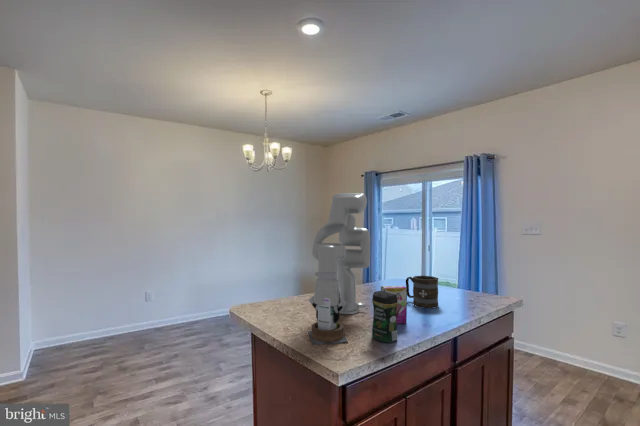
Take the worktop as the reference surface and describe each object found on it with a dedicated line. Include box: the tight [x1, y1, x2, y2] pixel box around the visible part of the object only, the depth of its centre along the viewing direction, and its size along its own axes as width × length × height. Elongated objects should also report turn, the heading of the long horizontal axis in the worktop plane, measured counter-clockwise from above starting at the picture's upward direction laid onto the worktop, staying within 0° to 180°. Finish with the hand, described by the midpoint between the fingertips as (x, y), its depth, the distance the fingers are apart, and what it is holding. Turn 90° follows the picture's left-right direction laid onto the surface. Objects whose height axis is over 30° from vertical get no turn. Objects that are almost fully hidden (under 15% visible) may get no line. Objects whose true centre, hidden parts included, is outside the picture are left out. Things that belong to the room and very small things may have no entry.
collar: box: [308, 321, 349, 346], centre depth 133 cm, size 14×14×4 cm
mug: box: [405, 275, 439, 309], centre depth 184 cm, size 20×14×15 cm
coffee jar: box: [371, 290, 398, 344], centre depth 131 cm, size 10×8×19 cm
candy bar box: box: [380, 285, 408, 325], centre depth 151 cm, size 11×5×16 cm, turn 100°
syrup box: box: [317, 298, 337, 330], centre depth 133 cm, size 6×6×14 cm
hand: (327, 320), depth 133 cm, fingers closed on syrup box, 6 cm apart
